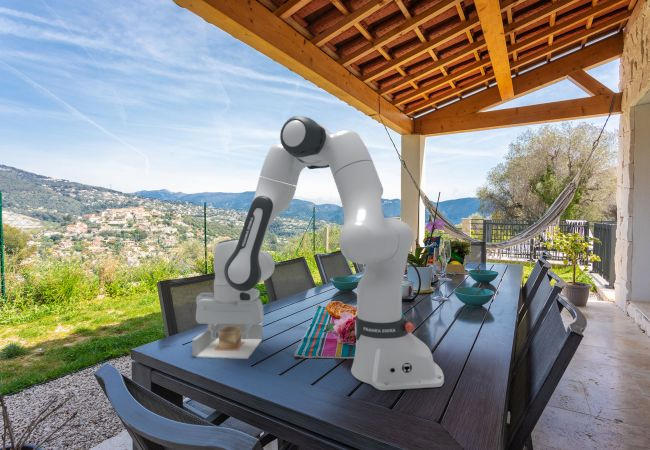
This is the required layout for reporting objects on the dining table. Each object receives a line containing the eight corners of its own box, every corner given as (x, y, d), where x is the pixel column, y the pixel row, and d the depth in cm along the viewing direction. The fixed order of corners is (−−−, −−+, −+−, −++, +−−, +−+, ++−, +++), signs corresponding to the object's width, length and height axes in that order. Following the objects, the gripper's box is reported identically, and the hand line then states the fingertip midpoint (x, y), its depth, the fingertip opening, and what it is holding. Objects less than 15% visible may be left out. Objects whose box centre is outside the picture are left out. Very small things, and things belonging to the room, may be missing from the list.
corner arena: (262, 338, 114) (262, 323, 114) (247, 358, 98) (247, 341, 98) (215, 337, 115) (214, 322, 115) (192, 357, 99) (192, 339, 99)
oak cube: (241, 342, 109) (240, 326, 109) (235, 348, 104) (235, 331, 104) (225, 342, 109) (225, 326, 109) (219, 348, 104) (218, 331, 104)
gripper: (191, 294, 104) (192, 340, 104) (259, 295, 102) (259, 342, 103) (200, 290, 110) (201, 333, 111) (264, 290, 108) (265, 335, 109)
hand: (230, 338), depth 107 cm, fingers open, 8 cm apart
